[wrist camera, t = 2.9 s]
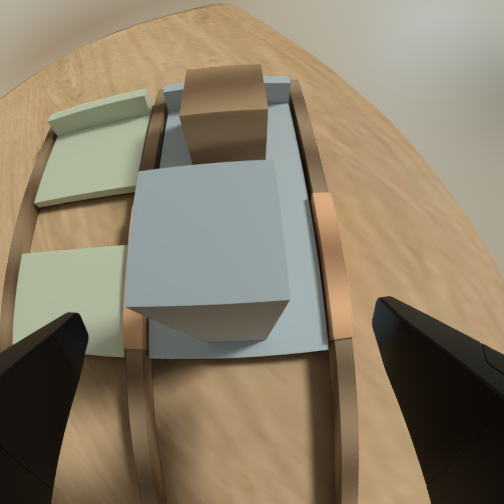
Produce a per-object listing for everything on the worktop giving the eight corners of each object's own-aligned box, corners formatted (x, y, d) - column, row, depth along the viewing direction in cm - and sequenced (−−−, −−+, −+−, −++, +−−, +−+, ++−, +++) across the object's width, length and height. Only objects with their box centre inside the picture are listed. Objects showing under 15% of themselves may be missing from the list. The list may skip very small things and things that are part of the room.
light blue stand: (325, 349, 16) (446, 322, 5) (153, 358, 16) (10, 339, 5) (286, 102, 23) (297, -17, 12) (172, 110, 23) (142, -4, 12)
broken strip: (129, 357, 16) (107, 355, 13) (19, 345, 16) (-8, 339, 13) (154, 113, 23) (146, 88, 20) (64, 134, 23) (51, 114, 20)
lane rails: (349, 522, 12) (357, 534, 10) (31, 491, 11) (19, 496, 10) (297, 92, 24) (299, 78, 22) (62, 125, 24) (55, 114, 22)
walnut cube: (265, 162, 20) (268, 109, 15) (193, 167, 19) (179, 116, 15) (259, 114, 21) (260, 64, 17) (196, 119, 21) (186, 70, 17)
